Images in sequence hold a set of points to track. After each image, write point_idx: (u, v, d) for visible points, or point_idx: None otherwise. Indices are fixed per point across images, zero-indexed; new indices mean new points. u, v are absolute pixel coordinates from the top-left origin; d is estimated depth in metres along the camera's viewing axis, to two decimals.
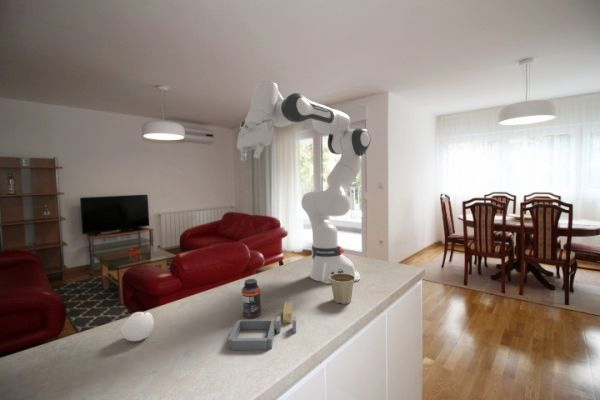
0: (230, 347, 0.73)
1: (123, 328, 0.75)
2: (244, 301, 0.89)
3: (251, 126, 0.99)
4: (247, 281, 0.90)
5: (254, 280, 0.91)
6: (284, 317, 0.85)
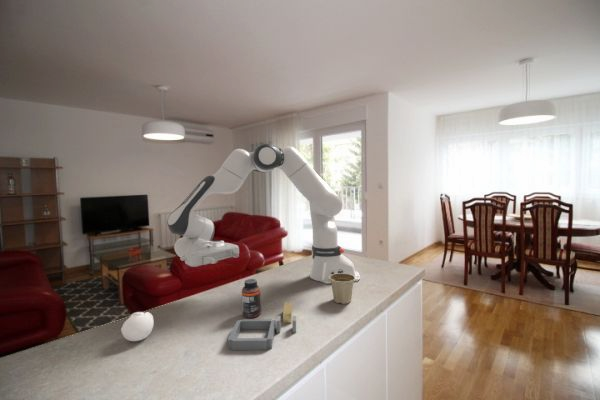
0: (230, 347, 0.73)
1: (123, 328, 0.75)
2: (244, 301, 0.89)
3: None
4: (247, 281, 0.90)
5: (254, 280, 0.91)
6: (284, 317, 0.85)
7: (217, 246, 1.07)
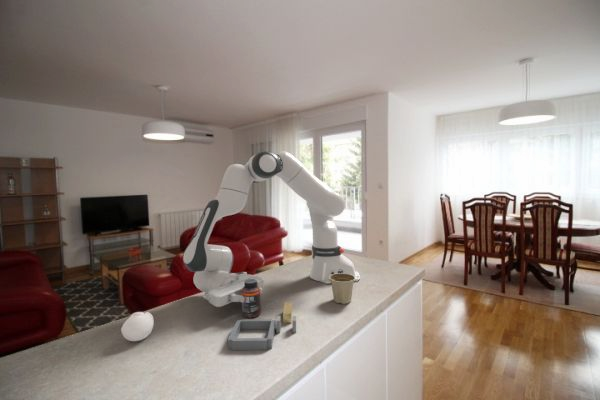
0: (230, 347, 0.73)
1: (123, 328, 0.75)
2: None
3: None
4: (247, 281, 0.90)
5: (254, 280, 0.91)
6: (284, 317, 0.85)
7: (240, 279, 1.00)
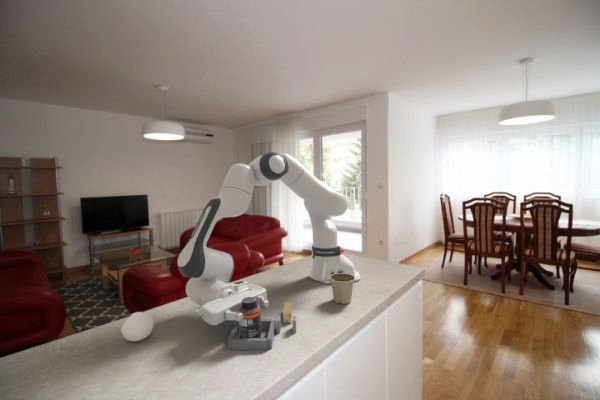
0: (230, 347, 0.73)
1: (123, 328, 0.75)
2: (241, 324, 0.74)
3: None
4: (245, 300, 0.76)
5: (253, 299, 0.76)
6: (284, 317, 0.85)
7: (240, 290, 0.86)
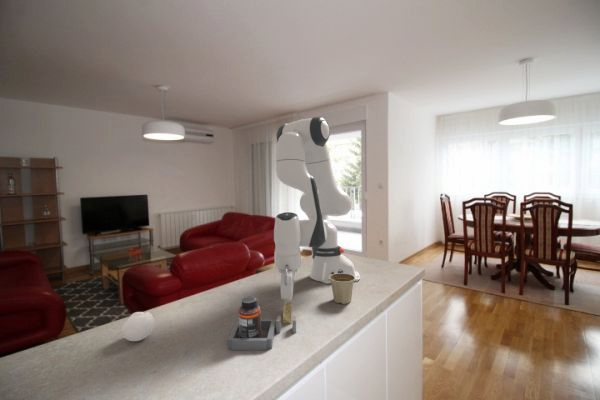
0: (230, 347, 0.73)
1: (123, 328, 0.75)
2: (241, 324, 0.74)
3: (279, 270, 0.93)
4: (245, 300, 0.76)
5: (253, 299, 0.76)
6: (284, 317, 0.85)
7: None
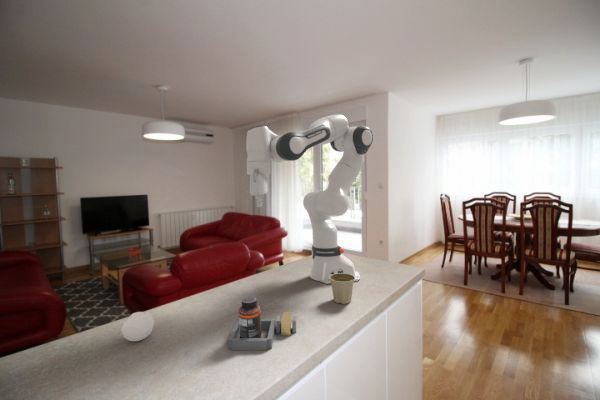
0: (230, 347, 0.73)
1: (123, 328, 0.74)
2: (241, 324, 0.74)
3: None
4: (245, 300, 0.76)
5: (253, 299, 0.76)
6: (282, 329, 0.78)
7: (265, 179, 1.09)
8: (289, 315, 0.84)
